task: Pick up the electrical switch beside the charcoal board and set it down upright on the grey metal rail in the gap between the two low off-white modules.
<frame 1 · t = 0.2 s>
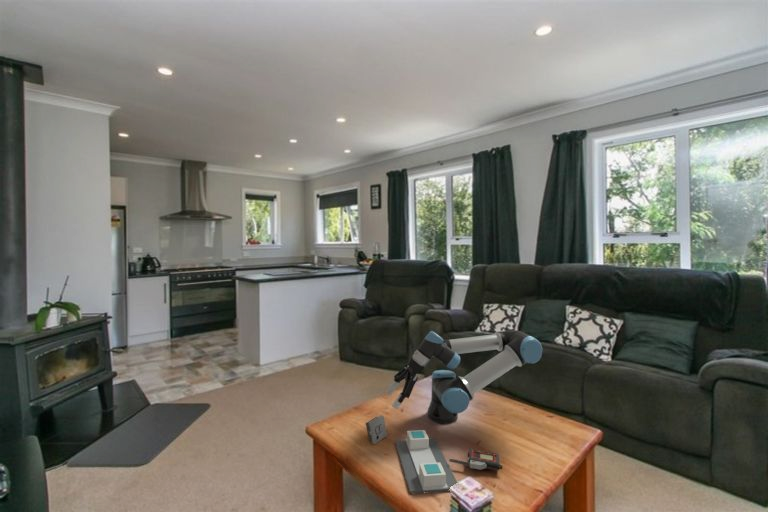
hand: (391, 400, 162), 16 cm above the table, tool tilted 35°, fingers open, 13 cm apart
electrical switch: (375, 439, 158), on the table
walkie-talkie: (475, 455, 139), point 5 cm above the table
rail board: (424, 464, 140), on the table
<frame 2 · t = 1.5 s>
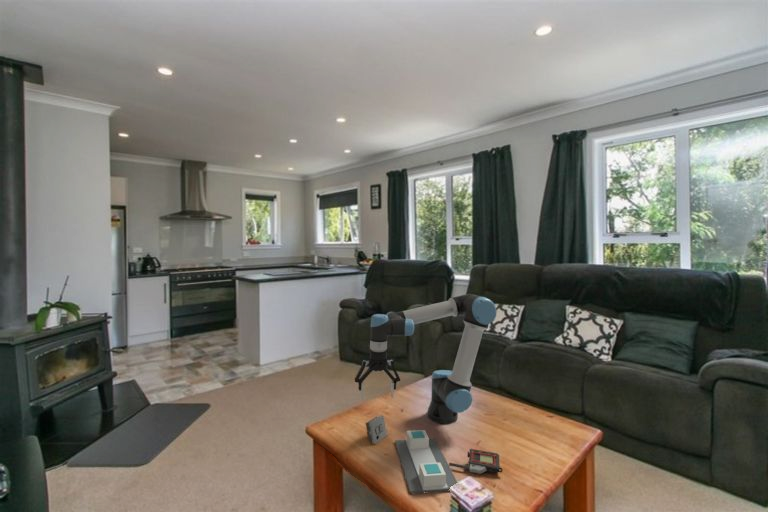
hand: (377, 396, 157), 19 cm above the table, tool pointing down, fingers open, 13 cm apart
walkie-talkie: (475, 458, 138), point 4 cm above the table
everything else where it was.
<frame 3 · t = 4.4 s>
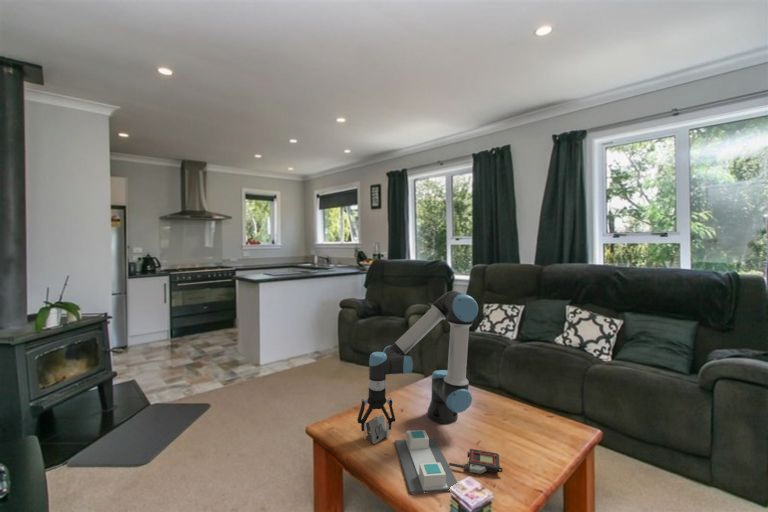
hand: (376, 437, 158), 1 cm above the table, tool pointing down, fingers closed on electrical switch, 9 cm apart
electrical switch: (375, 439, 158), on the table, touching gripper
everything else where it was.
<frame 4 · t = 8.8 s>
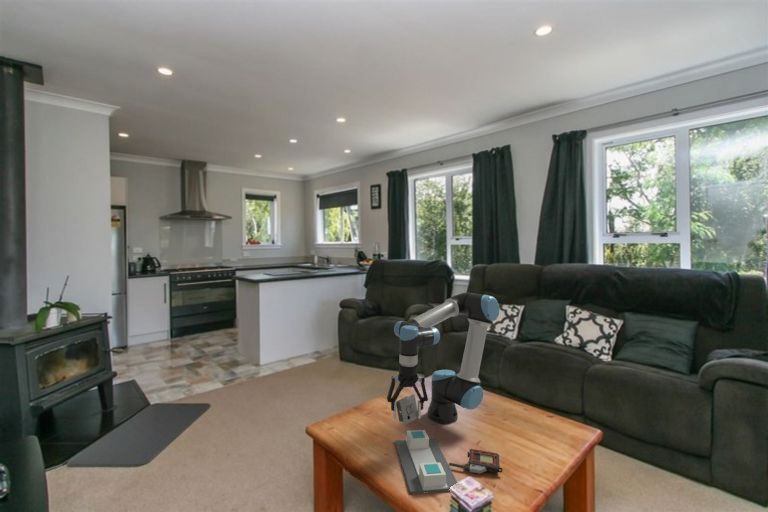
hand: (406, 417, 146), 16 cm above the table, tool pointing down, fingers closed on electrical switch, 9 cm apart
electrical switch: (406, 419, 146), point 15 cm above the table, touching gripper
everything else where it was.
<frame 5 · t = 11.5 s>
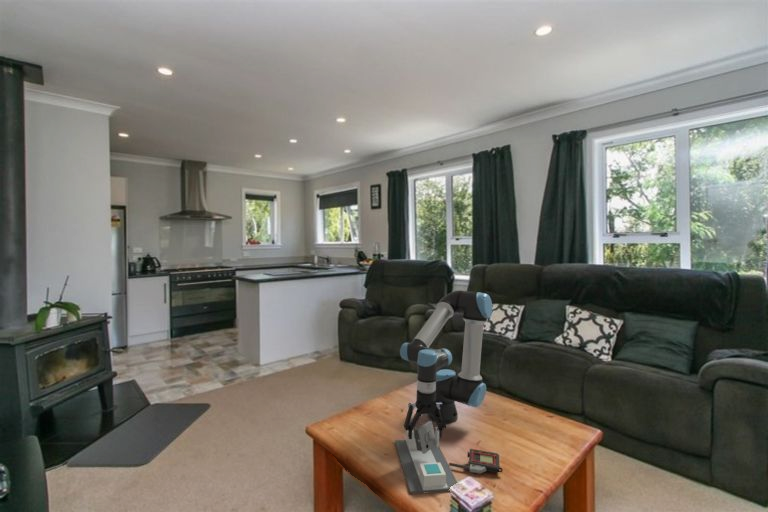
hand: (424, 445, 140), 7 cm above the table, tool pointing down, fingers closed on electrical switch, 9 cm apart
electrical switch: (424, 447, 140), point 7 cm above the table, touching gripper
everything else where it was.
when the fingers open (4 cm above the table, at t = 13.7 s): electrical switch drops 1 cm, resting on rail board.
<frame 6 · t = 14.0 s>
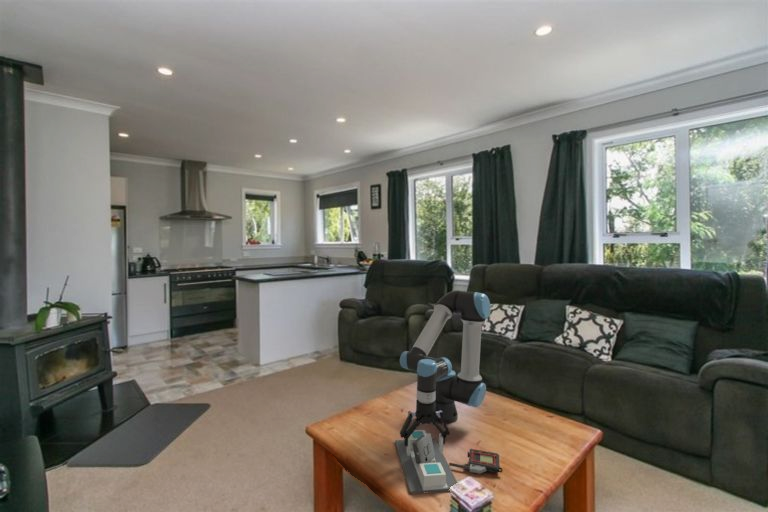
hand: (424, 452, 140), 5 cm above the table, tool pointing down, fingers open, 13 cm apart
electrical switch: (423, 460, 140), point 1 cm above the table, touching rail board
everything else where it was.
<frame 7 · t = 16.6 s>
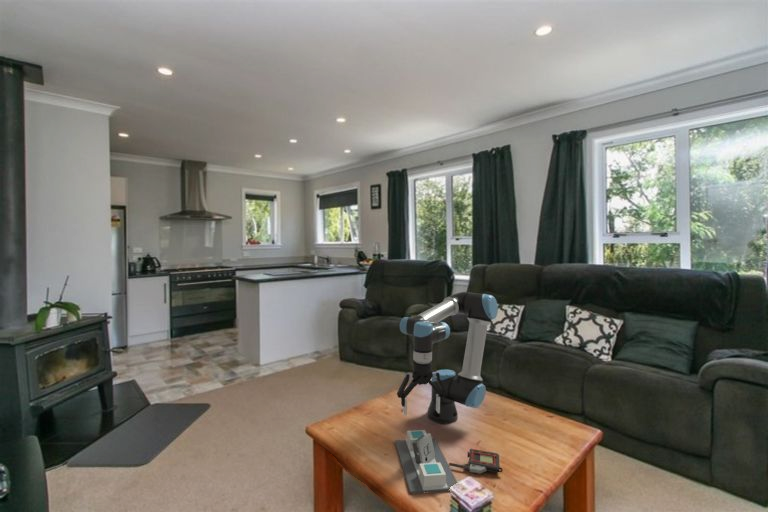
hand: (421, 412, 142), 19 cm above the table, tool pointing down, fingers open, 13 cm apart
nothing on the table moved.
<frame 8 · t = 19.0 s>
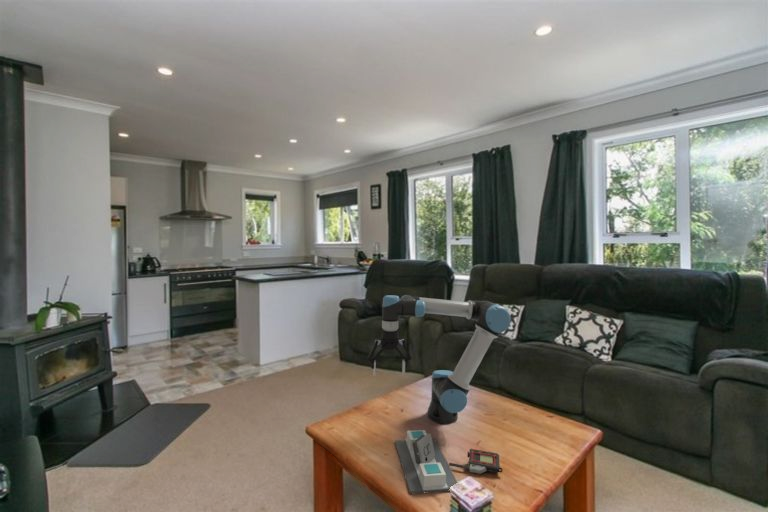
hand: (389, 375, 162), 27 cm above the table, tool pointing down, fingers open, 13 cm apart
nothing on the table moved.
at the end: electrical switch inside the target area on the rail board (0.3 cm from its centre), point 1.3 cm above the rail board's base; electrical switch tilted 0°; the gripper is holding nothing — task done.
